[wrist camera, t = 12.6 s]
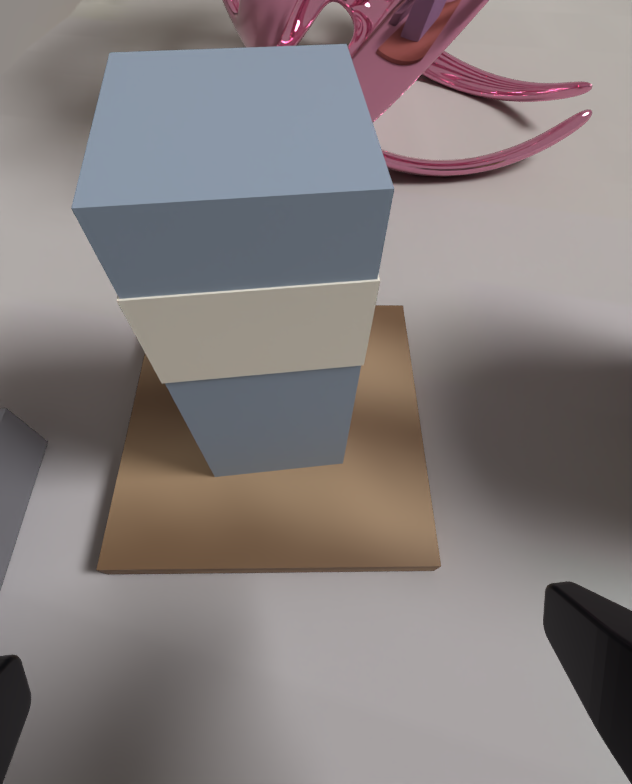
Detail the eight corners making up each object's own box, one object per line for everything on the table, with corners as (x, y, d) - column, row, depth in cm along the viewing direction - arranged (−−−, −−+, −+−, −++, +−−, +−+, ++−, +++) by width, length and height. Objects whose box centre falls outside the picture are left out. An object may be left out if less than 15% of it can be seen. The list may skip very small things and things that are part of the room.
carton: (344, 464, 17) (397, 190, 7) (213, 478, 17) (67, 210, 7) (327, 358, 20) (348, 42, 10) (213, 368, 20) (107, 51, 9)
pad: (434, 570, 16) (441, 566, 16) (107, 574, 16) (96, 570, 15) (399, 318, 22) (402, 305, 22) (161, 318, 22) (155, 305, 21)
